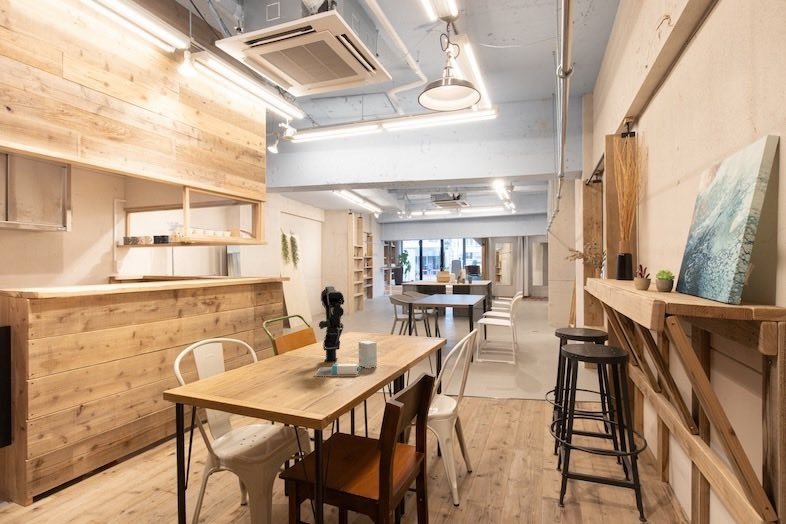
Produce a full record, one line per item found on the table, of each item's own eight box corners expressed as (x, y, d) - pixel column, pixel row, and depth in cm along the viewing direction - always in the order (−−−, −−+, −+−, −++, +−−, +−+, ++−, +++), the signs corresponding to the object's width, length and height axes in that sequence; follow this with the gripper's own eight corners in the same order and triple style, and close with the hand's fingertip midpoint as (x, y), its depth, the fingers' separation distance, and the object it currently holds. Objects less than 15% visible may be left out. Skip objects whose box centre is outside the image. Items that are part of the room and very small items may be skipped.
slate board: (320, 368, 222) (319, 367, 222) (360, 368, 221) (360, 367, 221) (313, 376, 206) (313, 375, 206) (357, 376, 206) (357, 375, 206)
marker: (333, 372, 213) (333, 363, 213) (361, 371, 212) (361, 363, 212) (332, 374, 209) (332, 365, 209) (360, 373, 208) (360, 365, 208)
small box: (377, 367, 224) (376, 342, 224) (367, 369, 220) (367, 344, 220) (368, 364, 231) (367, 340, 230) (358, 366, 226) (358, 341, 226)
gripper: (323, 312, 234) (323, 341, 234) (316, 317, 216) (316, 348, 216) (343, 312, 234) (343, 341, 234) (338, 317, 215) (338, 348, 215)
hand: (335, 344), depth 225 cm, fingers open, 9 cm apart
